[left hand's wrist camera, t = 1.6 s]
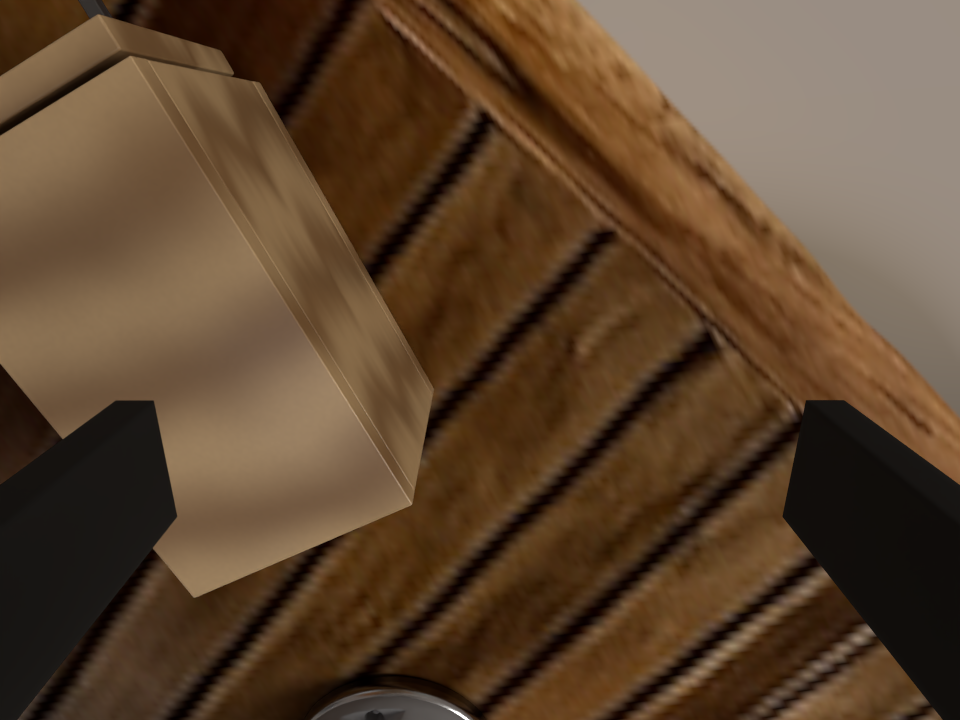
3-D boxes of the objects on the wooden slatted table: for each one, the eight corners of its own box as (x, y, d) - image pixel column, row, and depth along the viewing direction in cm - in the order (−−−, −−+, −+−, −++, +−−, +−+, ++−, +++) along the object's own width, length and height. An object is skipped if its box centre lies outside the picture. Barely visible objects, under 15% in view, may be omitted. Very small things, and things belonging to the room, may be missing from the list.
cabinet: (85, 183, 33) (-126, 212, 21) (259, 82, 31) (129, 54, 19) (278, 460, 38) (193, 598, 27) (434, 389, 37) (412, 505, 25)
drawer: (-21, 31, 29) (-261, -16, 20) (146, -79, 28) (-28, -187, 18) (253, 424, 36) (172, 526, 27) (398, 355, 35) (366, 438, 25)
